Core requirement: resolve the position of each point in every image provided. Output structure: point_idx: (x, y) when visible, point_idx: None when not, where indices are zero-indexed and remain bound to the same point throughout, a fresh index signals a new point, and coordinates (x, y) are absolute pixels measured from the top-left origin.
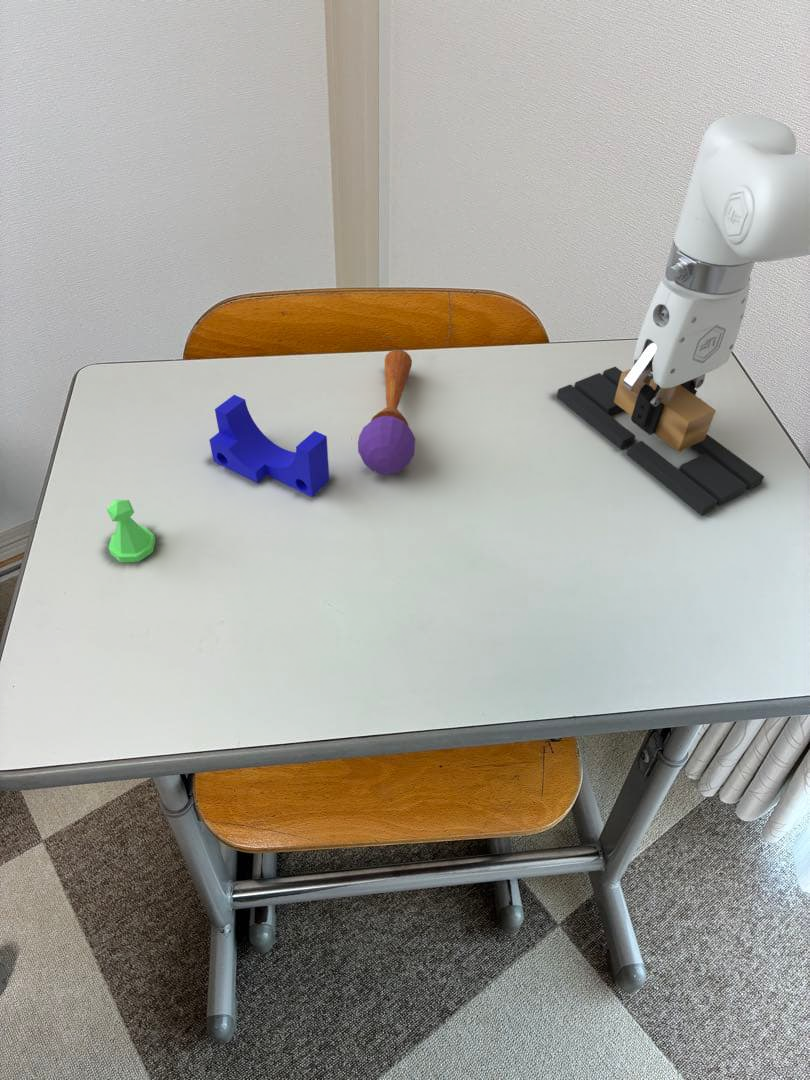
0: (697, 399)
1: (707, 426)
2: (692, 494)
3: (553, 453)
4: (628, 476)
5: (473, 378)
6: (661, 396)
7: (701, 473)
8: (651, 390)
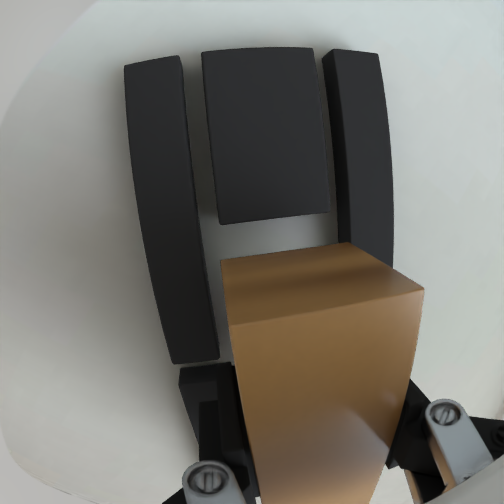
0: (259, 415)
1: (242, 282)
2: (378, 102)
3: (460, 350)
4: (418, 250)
5: (403, 483)
6: (445, 430)
7: (300, 152)
8: (487, 443)
